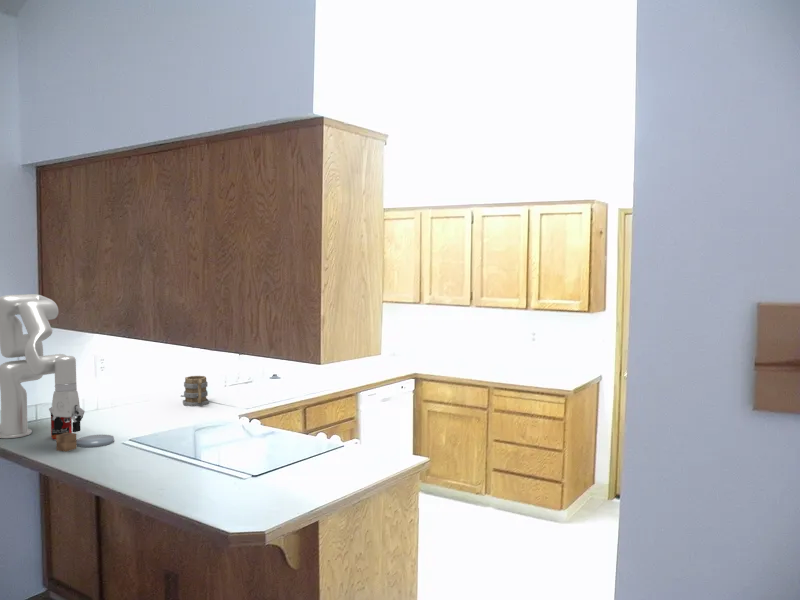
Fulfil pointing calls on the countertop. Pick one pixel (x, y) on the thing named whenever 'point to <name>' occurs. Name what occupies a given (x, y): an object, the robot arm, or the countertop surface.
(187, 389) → the tankard
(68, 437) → the walnut block
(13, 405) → the robot arm
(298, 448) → the countertop surface
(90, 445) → the dish
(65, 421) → the canned food
